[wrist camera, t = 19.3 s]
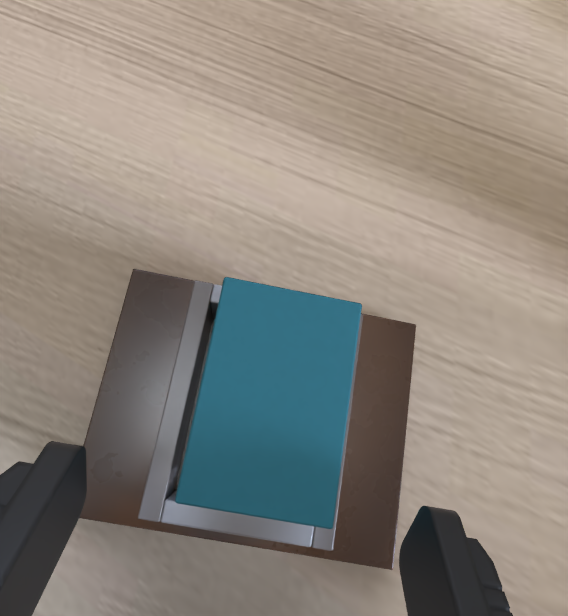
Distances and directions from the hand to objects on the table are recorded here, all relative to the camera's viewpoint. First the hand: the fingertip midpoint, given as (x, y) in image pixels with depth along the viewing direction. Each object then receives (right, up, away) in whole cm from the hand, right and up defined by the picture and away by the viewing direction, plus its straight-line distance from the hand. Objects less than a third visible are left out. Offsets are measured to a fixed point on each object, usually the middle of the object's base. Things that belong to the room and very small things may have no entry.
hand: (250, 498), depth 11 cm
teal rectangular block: (0, 0, +10) cm, 10 cm away
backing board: (-1, 0, +11) cm, 11 cm away
